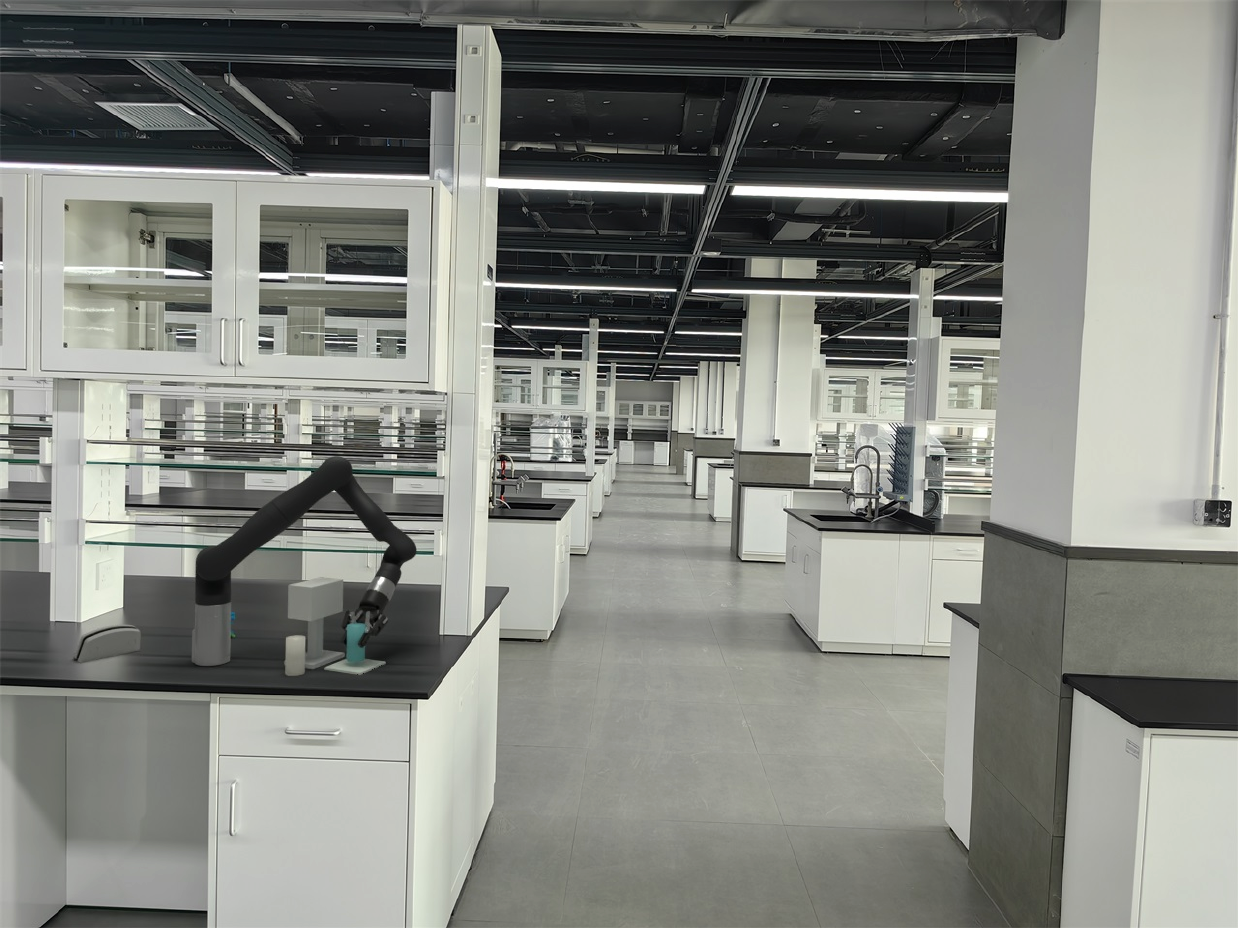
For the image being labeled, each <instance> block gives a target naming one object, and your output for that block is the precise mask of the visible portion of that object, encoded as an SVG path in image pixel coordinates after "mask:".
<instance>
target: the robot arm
mask: <svg viewBox="0 0 1238 928" xmlns="http://www.w3.org/2000/svg"><path fill="white" fill-rule="evenodd" d="M353 471H354V470H353V465H352V463H351V462H350V461H349V460H348V459H346V458H345V457H342V456H337V455H335V456H331V457H328V458H327V459H326V460H324V461H323V462H322V463H321V465H319V467H318V468H316V469H315V470H314V471H313V472H312V473H311V474H310V475H309V476H307V477H306V478H305V479H304V480H302V481H301V482H299V483H298V484H296V485H293V487H290V488H289V489H287V490H286V491H284V492H282V493H281V494H278V495H277V496H276V497H275V498H273V499H271V500H270V501H269V502H267V503H266V504H264V505H263V506H261V508H259V509H258V510H257V511H255V512H254V514H253V515H251V516H250V517H249V519H247V520H246V521H245V523H244V524H243V525H242V526H241V527H240V528H238V530H236V532H234V533H233V534H232V535H230V536H229V537H227V538H226V539H224V540H223V541H222V542H220V543H218V544H217V545H209V546H207V547H204V548H202V549H201V550H200V551H199V552H198V554H197V556H196V557H195V558H196V559H195V571H194V573H195V582H194V583H195V587H194V588H195V589H194V591H195V592H194V600H195V603H194V609H195V610H194V628H193V629H192V631H191V663H194V664H195V665H197V666H200V667H213V666H219V665H225V664H226V663H230V662H231V645H232V644H231V640H232V639H231V637H232V636H231V630H232V625H231V621H232V620H231V613H232V571H233V570H235V568H236V567H238V566H239V564H241V563H242V562H243V561H244V560H245V559H247V557H249V556H250V554H251V555H252V553H253V552H255V551H256V550H258V549H260V548H261V547H262V546H264V545H266V544H268V543H269V542H271V541H272V540H273V539H275V538H276V537H277V536H279V535H281V534H282V533H283V532H285V531H286V530H287V529H288V528H290V527H291V526H292V525H293V524H295V523H296V522H297V521H298V520H300V518H302V517H303V516H304V515H305V514H306V513H307V512H308V511H309V510H310V509H312V507H314V506H315V505H316V504H317V503H318V502H319V501H320V500H322V499H324V497H326V496H328V495H329V494H331V493H332V492H333V491H334V492H335V493H337V494H338V496H340V497H341V498H342V500H344V502H345V503H346V504H347V505H348V506H349V507H350V509H351V510H352V511H353V513H354V514H355V516H357V518H358V520H360V522H361V523H362V524H363V525H364V527H365V528H366V529H367V531H368V532H369V533H370V534H371V535H372V536H373V538H374V539H375V540H376V541H377V542H379V543H380V542H381V543H382V542H383V543H386V544H387V545H388V547H387V548H386V549H385V551H384V553H383V555H382V559H381V562H380V566H379V568H378V570H377V571H376V573H375V574H374V577H373V579H372V581H371V582H370V583H368V586H367V588H366V590H365V592H364V594H363V596H362V598H361V599H360V601H359V605H358V608H357V609H355V610H354V611H350V610H349V609H348V610H345V613H344V616H343V620H342V623H341V626H340V627H341V628H342V630H343V631H344V633H343V635H342V637H341V640H340V641H341V644H342V645H343V646H346V647H347V625H348V624H352V623H363V624H365V633H363V635H362V636H361V638H360V640H359V642H358V646H359V647H360V648H363V647H364V646H365V647H366V645H367V644H368V642H369V640H370V638H371V637H372V636H375V637H377V636H378V635H380V633H381V631H382V630H383V629H384V628H385V627H386V625H387V624H388V623H389V622H390V621H389V618H388V616H386V615H385V614H384V613H385V611H386V608H387V607H388V605H389V604H390V601H391V599H392V597H393V596H394V592H395V590H396V587H397V585H398V583H399V581H400V579H401V577H402V570H401V569H402V566H403V564H404V563H407V562H408V561H409V562H410V561H411V560H413V559H414V558H415V557H416V555H417V551H418V550H417V546H416V543H415V542H414V540H413V539H412V538H411V537H410V536H409V535H408V534H407V533H405V532H404V531H403V530H401V528H398V527H397V526H396V525H395V524H394V523H393V521H391V519H390V517H388V515H387V513H385V512H384V511H383V509H382V508H381V507H380V506H379V505H378V504H377V503H376V502H375V501H374V500H373V499H372V498H371V497H370V496H369V494H367V493H366V492H365V491H364V489H363V488H362V487H361V486H360V485H359V483H358V481H357V479H356V478H355V476H354V474H353Z"/></svg>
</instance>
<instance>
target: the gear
mask: <svg viewBox="0 0 1238 928" xmlns="http://www.w3.org/2000/svg"><path fill="white" fill-rule="evenodd" d="M235 615H236V613H235V612H234V611H231V626H232V625H233V624H234V622H233V621H234V620H236V616H235ZM234 633H235V632H234V631H233V630H232V629H231V637H232V638H236V635H235V634H234Z"/></svg>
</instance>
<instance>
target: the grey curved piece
mask: <svg viewBox="0 0 1238 928" xmlns="http://www.w3.org/2000/svg"><path fill="white" fill-rule="evenodd" d="M141 633H142V632H141V631H140V629H138V627H136V626H135V625H133V624H132V625H131V624H113V625H108V626H107V625H106V626H103V627H100V628H96V629H93V630H91V631H89V632H86V633H83V634H82V635H81V637H80V640H79V642H78V645H77V649H76V651H75V652H74V653H72V661H74V660H77V662H78V663H85V662H86V663H87V662H90V661H95V660H99V659H100V660H101V659H105V658H109V657H114V656H118V655H123V654H130V653H134V652H139V651H140V650H141V637H142V636H141V635H142V634H141Z"/></svg>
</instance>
